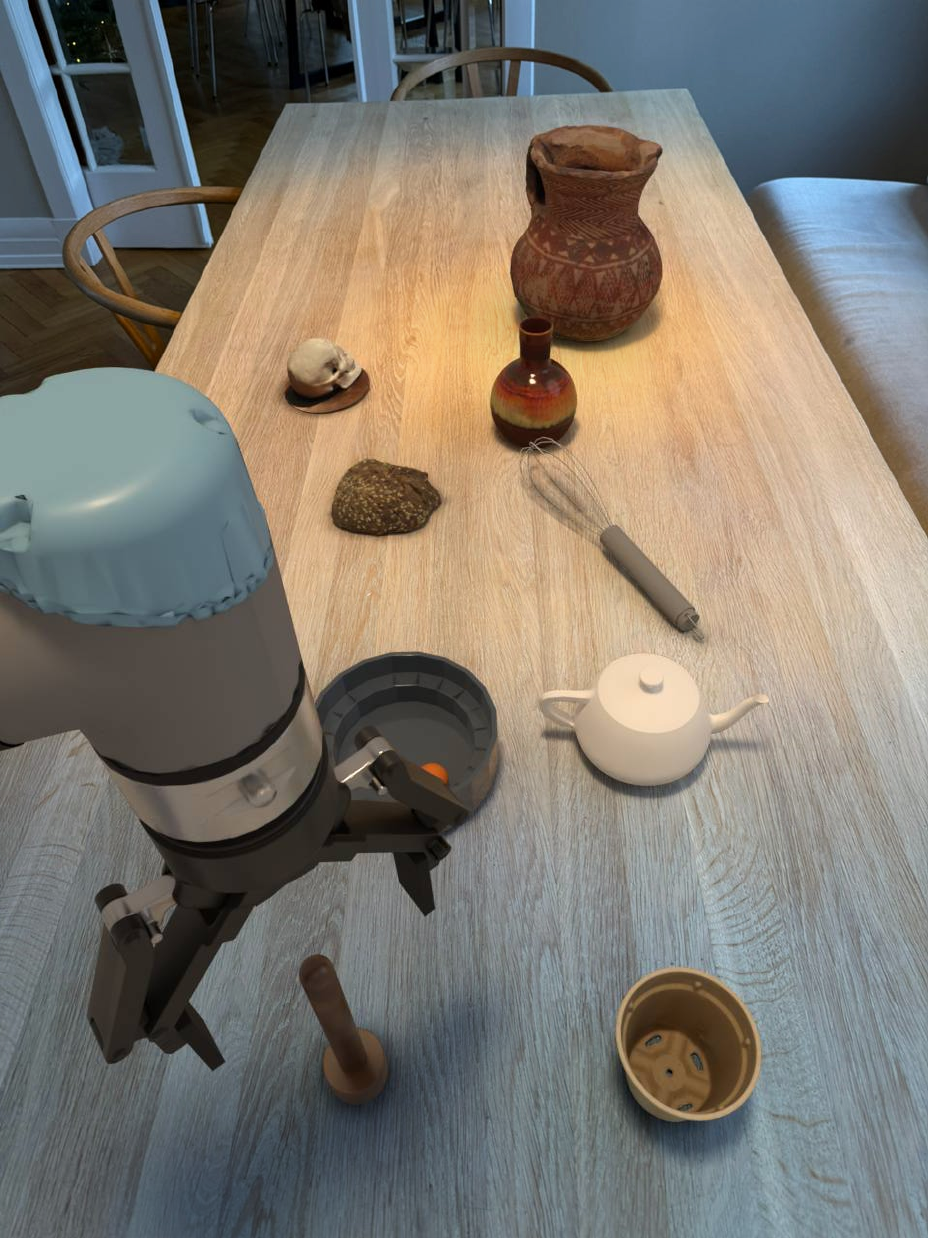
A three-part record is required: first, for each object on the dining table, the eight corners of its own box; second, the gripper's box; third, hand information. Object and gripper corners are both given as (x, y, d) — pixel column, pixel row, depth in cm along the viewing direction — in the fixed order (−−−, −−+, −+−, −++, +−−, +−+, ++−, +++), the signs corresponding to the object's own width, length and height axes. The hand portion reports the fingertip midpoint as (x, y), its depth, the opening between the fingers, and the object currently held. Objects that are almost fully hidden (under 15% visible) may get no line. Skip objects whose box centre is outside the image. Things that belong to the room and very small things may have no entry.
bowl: (380, 881, 75) (373, 848, 70) (283, 748, 84) (271, 711, 80) (534, 775, 81) (536, 738, 77) (428, 662, 91) (424, 624, 86)
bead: (429, 809, 78) (426, 792, 76) (409, 786, 80) (407, 768, 78) (456, 791, 80) (454, 773, 77) (436, 768, 81) (434, 751, 79)
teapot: (743, 695, 87) (766, 627, 79) (759, 806, 79) (787, 742, 71) (539, 684, 88) (543, 616, 81) (535, 792, 80) (538, 728, 73)
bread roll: (319, 528, 105) (313, 496, 101) (355, 464, 113) (351, 432, 109) (422, 546, 102) (419, 514, 99) (451, 479, 110) (450, 447, 106)
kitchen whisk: (679, 656, 90) (688, 615, 86) (508, 478, 110) (508, 436, 106) (725, 633, 92) (737, 591, 87) (549, 462, 112) (551, 420, 108)
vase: (587, 419, 118) (597, 312, 106) (554, 466, 111) (560, 358, 100) (512, 399, 121) (513, 294, 110) (476, 444, 115) (473, 337, 103)
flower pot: (761, 1076, 64) (791, 1039, 58) (683, 1182, 60) (705, 1156, 53) (657, 982, 69) (673, 938, 62) (577, 1075, 64) (586, 1038, 58)
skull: (340, 345, 130) (358, 317, 120) (369, 411, 130) (389, 388, 121) (265, 369, 125) (277, 342, 116) (295, 437, 126) (310, 415, 116)
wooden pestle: (348, 1119, 63) (299, 1024, 47) (317, 1066, 65) (260, 959, 50) (399, 1078, 65) (368, 974, 49) (367, 1028, 67) (327, 913, 51)
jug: (671, 300, 138) (697, 127, 119) (631, 370, 125) (654, 189, 107) (538, 276, 144) (544, 108, 126) (488, 340, 132) (486, 164, 113)
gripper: (-85, 1059, 27) (135, 1186, 43) (541, 662, 36) (531, 887, 52) (-140, 876, 31) (79, 1054, 47) (435, 562, 40) (456, 799, 56)
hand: (317, 966), depth 49 cm, fingers open, 13 cm apart
